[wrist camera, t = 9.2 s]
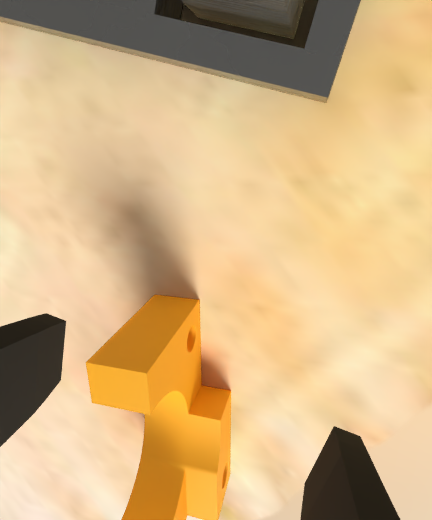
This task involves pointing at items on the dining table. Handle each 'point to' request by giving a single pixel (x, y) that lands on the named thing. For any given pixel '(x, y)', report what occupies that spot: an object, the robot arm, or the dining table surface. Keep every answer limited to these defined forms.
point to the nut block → (252, 14)
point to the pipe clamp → (168, 410)
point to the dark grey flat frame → (198, 40)
